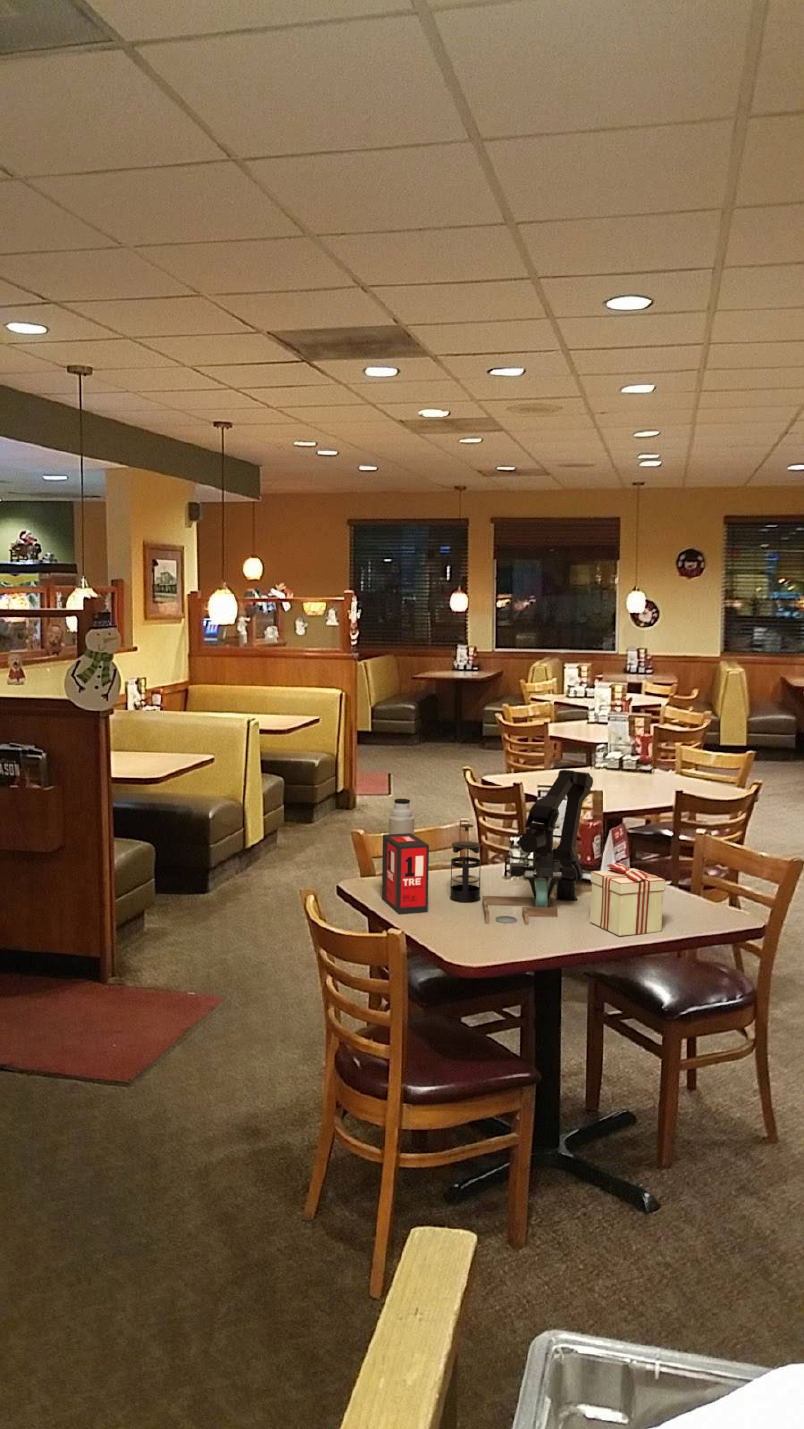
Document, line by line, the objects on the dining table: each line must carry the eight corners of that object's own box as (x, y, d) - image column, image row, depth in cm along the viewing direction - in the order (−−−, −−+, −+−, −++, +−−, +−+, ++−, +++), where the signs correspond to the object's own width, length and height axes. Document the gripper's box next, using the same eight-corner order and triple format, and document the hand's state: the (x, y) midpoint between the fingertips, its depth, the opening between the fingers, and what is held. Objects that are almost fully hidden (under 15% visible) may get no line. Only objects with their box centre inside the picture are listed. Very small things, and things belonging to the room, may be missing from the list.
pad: (494, 916, 317) (495, 915, 317) (515, 917, 317) (515, 916, 317) (496, 922, 311) (496, 921, 311) (517, 923, 311) (517, 922, 311)
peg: (534, 904, 325) (535, 877, 324) (546, 904, 325) (547, 877, 324) (535, 907, 322) (536, 880, 321) (547, 907, 322) (548, 881, 321)
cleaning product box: (427, 912, 320) (429, 844, 318) (398, 914, 318) (399, 846, 316) (409, 897, 336) (410, 833, 334) (381, 899, 333) (382, 834, 331)
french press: (480, 904, 330) (482, 828, 327) (449, 903, 330) (451, 827, 328) (479, 893, 342) (481, 820, 339) (449, 892, 342) (451, 819, 339)
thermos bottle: (382, 885, 349) (384, 798, 346) (402, 881, 354) (403, 796, 351) (398, 891, 343) (400, 802, 340) (418, 887, 348) (419, 799, 345)
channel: (482, 904, 330) (482, 895, 330) (552, 905, 329) (552, 897, 329) (485, 923, 310) (485, 915, 310) (560, 925, 309) (560, 916, 309)
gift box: (673, 930, 307) (676, 869, 305) (622, 939, 298) (624, 876, 296) (633, 914, 322) (635, 856, 320) (582, 922, 313) (584, 863, 311)
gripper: (513, 852, 314) (511, 905, 315) (578, 853, 313) (577, 906, 315) (510, 843, 325) (508, 895, 326) (573, 844, 324) (572, 896, 326)
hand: (541, 898), depth 323 cm, fingers closed on peg, 3 cm apart
